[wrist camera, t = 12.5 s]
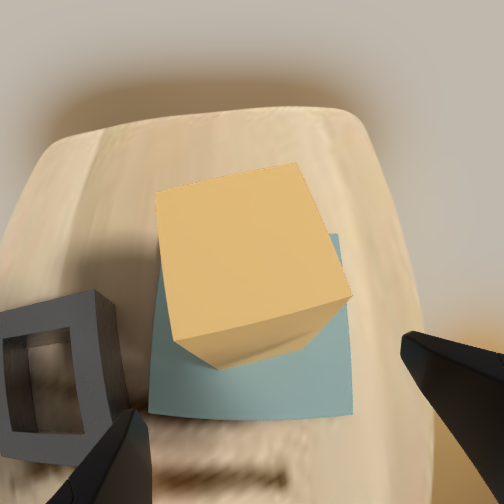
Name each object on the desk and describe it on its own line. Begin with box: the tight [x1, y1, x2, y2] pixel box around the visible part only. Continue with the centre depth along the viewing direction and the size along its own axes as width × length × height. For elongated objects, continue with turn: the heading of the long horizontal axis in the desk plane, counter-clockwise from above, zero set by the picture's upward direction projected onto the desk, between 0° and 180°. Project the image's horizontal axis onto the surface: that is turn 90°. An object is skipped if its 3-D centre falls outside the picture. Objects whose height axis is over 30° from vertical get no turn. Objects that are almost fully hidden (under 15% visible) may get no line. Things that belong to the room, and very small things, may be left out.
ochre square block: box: [155, 163, 353, 370], centre depth 13 cm, size 5×5×10 cm
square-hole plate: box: [0, 289, 130, 466], centre depth 15 cm, size 10×10×3 cm
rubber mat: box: [148, 234, 353, 421], centre depth 18 cm, size 12×12×1 cm
